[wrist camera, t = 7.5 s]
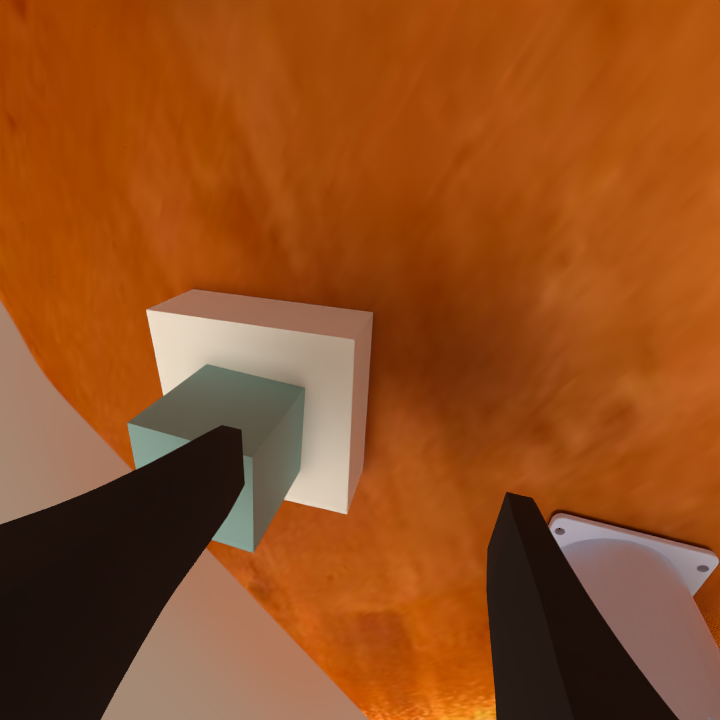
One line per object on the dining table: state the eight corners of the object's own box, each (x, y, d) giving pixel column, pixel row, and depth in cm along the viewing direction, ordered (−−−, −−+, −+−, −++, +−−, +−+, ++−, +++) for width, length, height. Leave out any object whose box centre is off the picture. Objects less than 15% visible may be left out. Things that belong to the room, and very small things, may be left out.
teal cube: (300, 470, 20) (253, 553, 16) (212, 446, 21) (145, 518, 17) (305, 387, 18) (252, 457, 14) (206, 364, 19) (127, 422, 15)
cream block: (364, 464, 25) (346, 514, 21) (217, 434, 26) (179, 475, 23) (375, 309, 20) (354, 339, 17) (197, 287, 22) (146, 309, 19)
